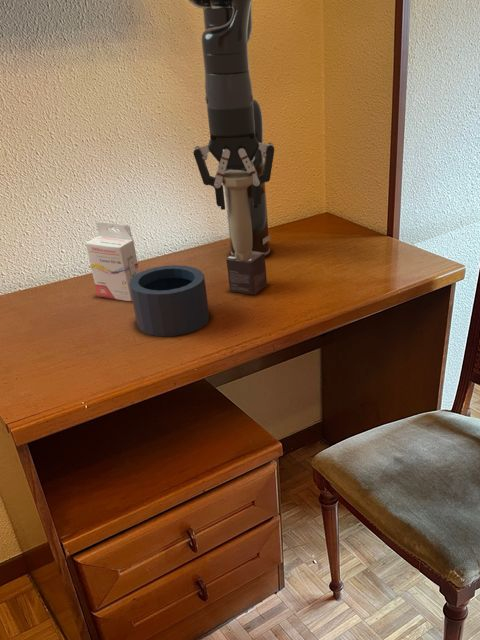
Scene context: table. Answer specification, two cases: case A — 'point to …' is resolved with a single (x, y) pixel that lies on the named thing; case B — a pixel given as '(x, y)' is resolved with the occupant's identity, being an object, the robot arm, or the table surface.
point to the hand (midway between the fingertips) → (239, 207)
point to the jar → (169, 300)
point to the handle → (239, 212)
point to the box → (247, 273)
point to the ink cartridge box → (113, 261)
